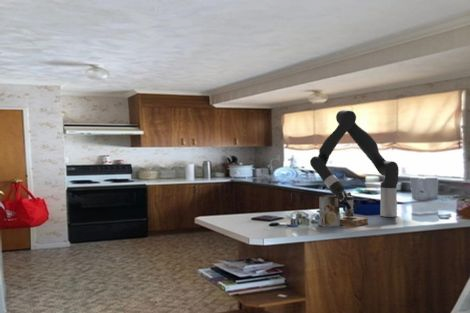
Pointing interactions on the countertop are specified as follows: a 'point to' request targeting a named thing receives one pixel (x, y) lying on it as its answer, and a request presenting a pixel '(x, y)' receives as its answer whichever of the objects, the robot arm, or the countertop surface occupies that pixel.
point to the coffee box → (329, 211)
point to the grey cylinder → (350, 200)
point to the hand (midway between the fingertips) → (352, 208)
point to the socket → (353, 221)
